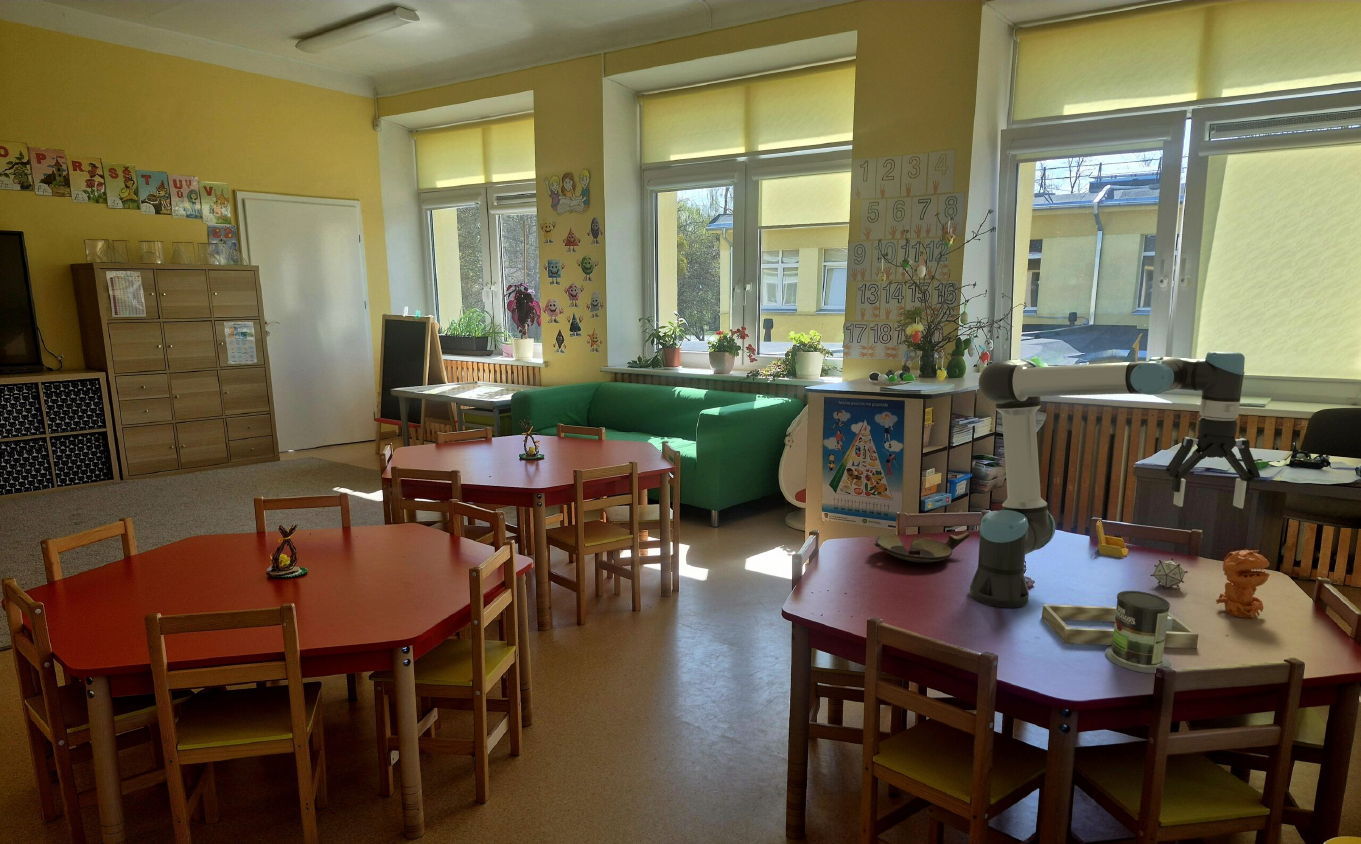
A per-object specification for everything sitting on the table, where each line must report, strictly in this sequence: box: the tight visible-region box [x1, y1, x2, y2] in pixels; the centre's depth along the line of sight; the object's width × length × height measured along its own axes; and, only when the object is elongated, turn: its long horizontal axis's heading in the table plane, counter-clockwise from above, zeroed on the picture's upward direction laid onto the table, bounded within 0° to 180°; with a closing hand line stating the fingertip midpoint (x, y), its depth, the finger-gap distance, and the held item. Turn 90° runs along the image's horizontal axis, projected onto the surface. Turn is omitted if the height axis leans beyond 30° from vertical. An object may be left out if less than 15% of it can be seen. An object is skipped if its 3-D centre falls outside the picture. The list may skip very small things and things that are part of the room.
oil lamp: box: [874, 532, 971, 564], centre depth 243 cm, size 22×30×8 cm
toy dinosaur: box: [1215, 549, 1271, 619], centre depth 202 cm, size 11×11×18 cm
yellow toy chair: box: [1095, 520, 1129, 559], centre depth 252 cm, size 10×10×9 cm
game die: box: [1149, 557, 1189, 591], centre depth 221 cm, size 9×8×10 cm
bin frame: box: [1041, 604, 1200, 649], centre depth 191 cm, size 30×15×4 cm, turn 85°
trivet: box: [1104, 645, 1172, 675], centre depth 177 cm, size 13×13×1 cm
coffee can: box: [1111, 590, 1171, 668], centre depth 176 cm, size 10×10×14 cm
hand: (1207, 506), depth 185 cm, fingers open, 13 cm apart
